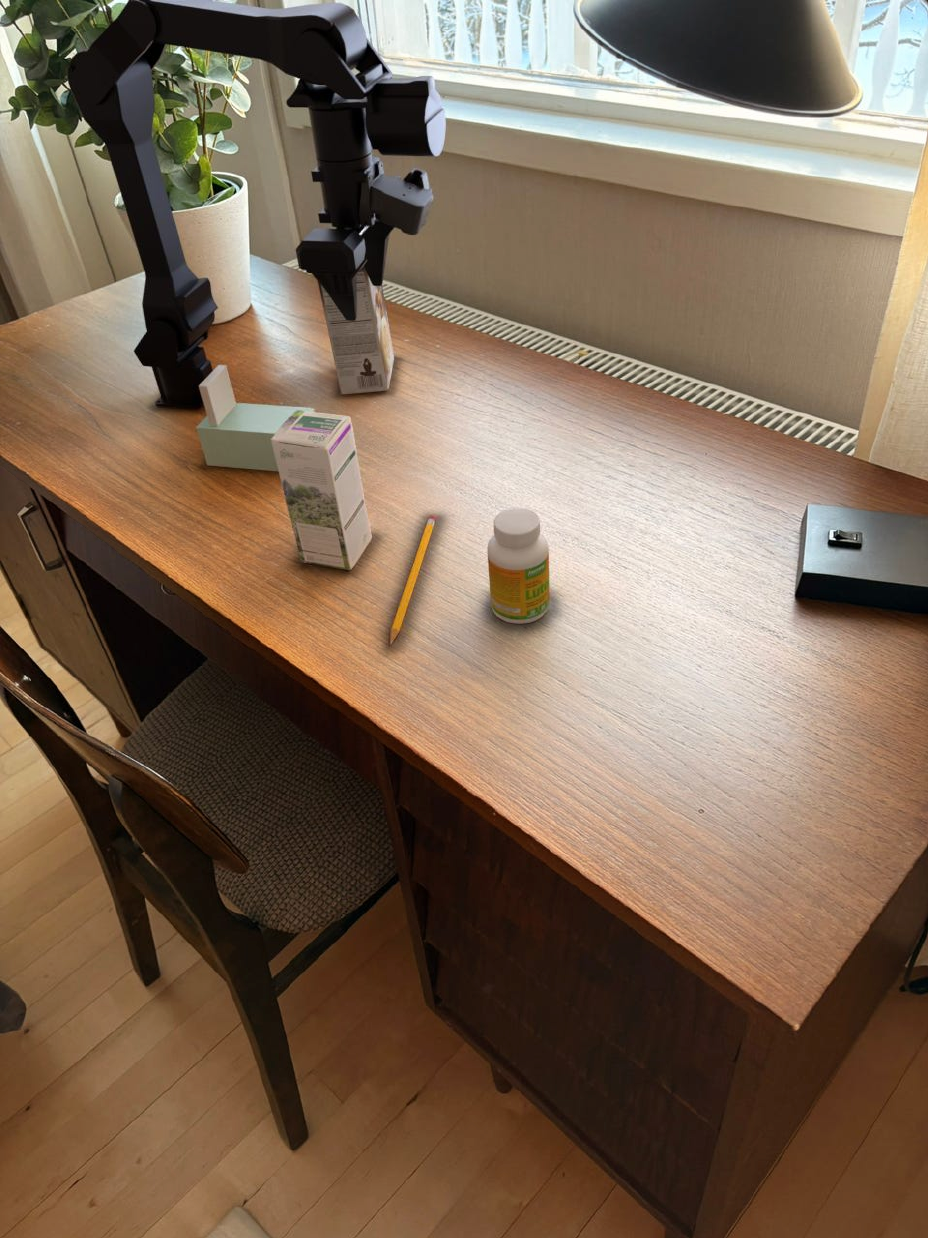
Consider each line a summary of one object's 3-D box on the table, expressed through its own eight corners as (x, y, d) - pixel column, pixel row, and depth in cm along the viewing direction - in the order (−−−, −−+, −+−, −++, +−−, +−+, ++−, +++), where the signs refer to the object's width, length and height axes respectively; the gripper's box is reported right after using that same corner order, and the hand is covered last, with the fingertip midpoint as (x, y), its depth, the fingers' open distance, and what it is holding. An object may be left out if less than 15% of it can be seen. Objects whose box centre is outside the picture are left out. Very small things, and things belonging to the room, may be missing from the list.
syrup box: (374, 538, 96) (352, 411, 87) (350, 573, 92) (325, 445, 83) (323, 530, 98) (297, 405, 88) (298, 565, 94) (267, 438, 84)
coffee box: (348, 362, 126) (324, 241, 116) (395, 358, 126) (375, 236, 115) (340, 395, 120) (314, 270, 109) (390, 391, 119) (368, 265, 108)
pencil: (436, 520, 98) (435, 515, 98) (395, 647, 84) (394, 642, 84) (428, 520, 98) (428, 515, 98) (386, 647, 84) (385, 641, 84)
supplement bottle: (531, 632, 84) (529, 546, 78) (480, 614, 86) (473, 528, 80) (559, 597, 87) (559, 511, 81) (509, 581, 90) (505, 496, 83)
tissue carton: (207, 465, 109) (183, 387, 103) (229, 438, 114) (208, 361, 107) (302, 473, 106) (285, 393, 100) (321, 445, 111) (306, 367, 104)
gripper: (392, 185, 87) (409, 343, 97) (444, 126, 100) (455, 271, 111) (280, 183, 90) (309, 338, 100) (346, 126, 103) (365, 268, 113)
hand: (364, 302), depth 106 cm, fingers open, 9 cm apart
